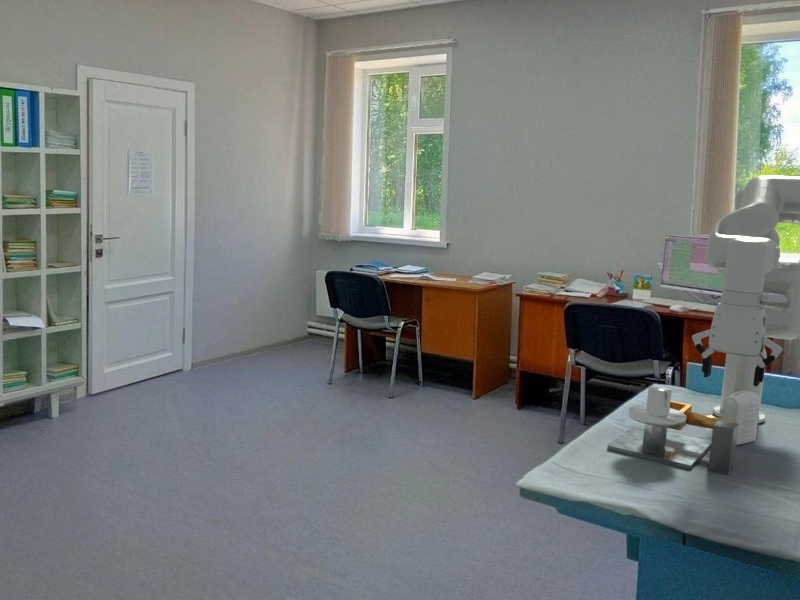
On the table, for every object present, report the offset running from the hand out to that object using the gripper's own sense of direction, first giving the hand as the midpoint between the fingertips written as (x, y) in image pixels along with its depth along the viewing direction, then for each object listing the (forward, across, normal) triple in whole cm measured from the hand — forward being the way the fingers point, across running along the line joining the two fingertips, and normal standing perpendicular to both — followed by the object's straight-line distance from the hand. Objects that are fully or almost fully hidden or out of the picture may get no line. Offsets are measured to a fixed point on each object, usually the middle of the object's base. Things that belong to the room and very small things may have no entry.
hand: (731, 380), depth 157 cm
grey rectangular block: (+20, 0, 0) cm, 20 cm away
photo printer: (+20, +1, -22) cm, 30 cm away
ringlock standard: (+19, +12, -4) cm, 23 cm away
